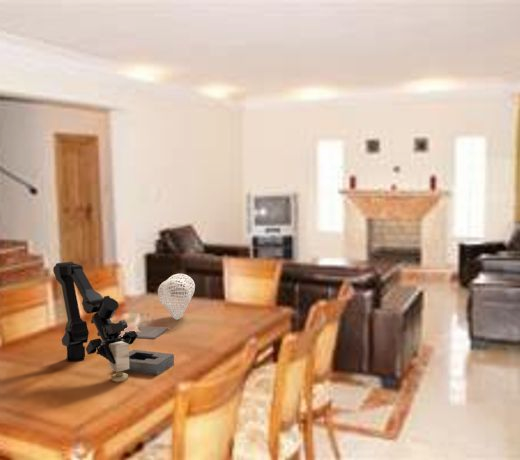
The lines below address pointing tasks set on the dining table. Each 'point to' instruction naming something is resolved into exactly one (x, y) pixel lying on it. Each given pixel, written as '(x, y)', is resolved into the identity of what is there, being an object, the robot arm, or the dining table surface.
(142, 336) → the play button award
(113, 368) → the keyhole post
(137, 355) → the keyhole plate
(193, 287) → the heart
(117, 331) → the robot arm
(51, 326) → the dining table surface
